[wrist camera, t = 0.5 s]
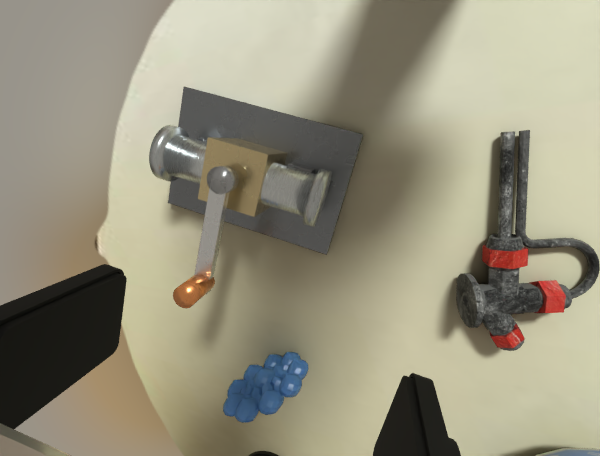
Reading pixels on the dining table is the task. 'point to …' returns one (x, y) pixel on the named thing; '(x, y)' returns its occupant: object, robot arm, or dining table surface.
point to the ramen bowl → (572, 452)
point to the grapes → (265, 387)
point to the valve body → (258, 166)
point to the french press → (262, 453)
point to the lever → (209, 236)
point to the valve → (515, 262)
